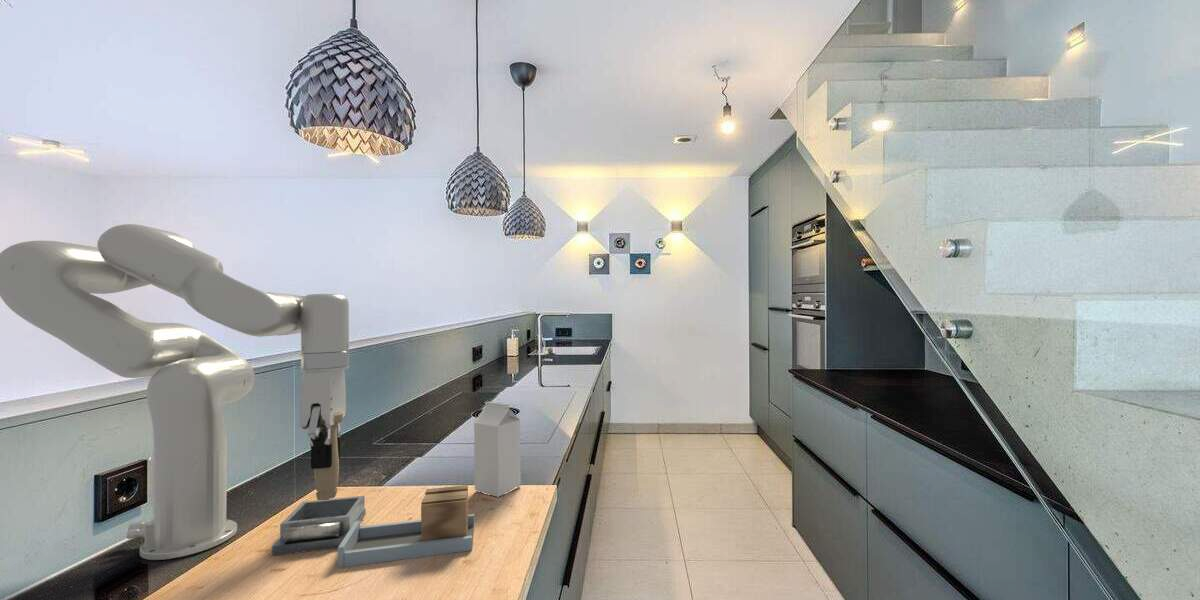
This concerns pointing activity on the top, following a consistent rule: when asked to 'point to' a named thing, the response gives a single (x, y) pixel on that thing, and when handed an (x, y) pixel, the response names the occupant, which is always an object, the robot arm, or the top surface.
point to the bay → (396, 543)
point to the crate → (444, 513)
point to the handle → (329, 476)
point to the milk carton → (497, 450)
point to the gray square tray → (319, 524)
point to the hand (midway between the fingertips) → (326, 462)
